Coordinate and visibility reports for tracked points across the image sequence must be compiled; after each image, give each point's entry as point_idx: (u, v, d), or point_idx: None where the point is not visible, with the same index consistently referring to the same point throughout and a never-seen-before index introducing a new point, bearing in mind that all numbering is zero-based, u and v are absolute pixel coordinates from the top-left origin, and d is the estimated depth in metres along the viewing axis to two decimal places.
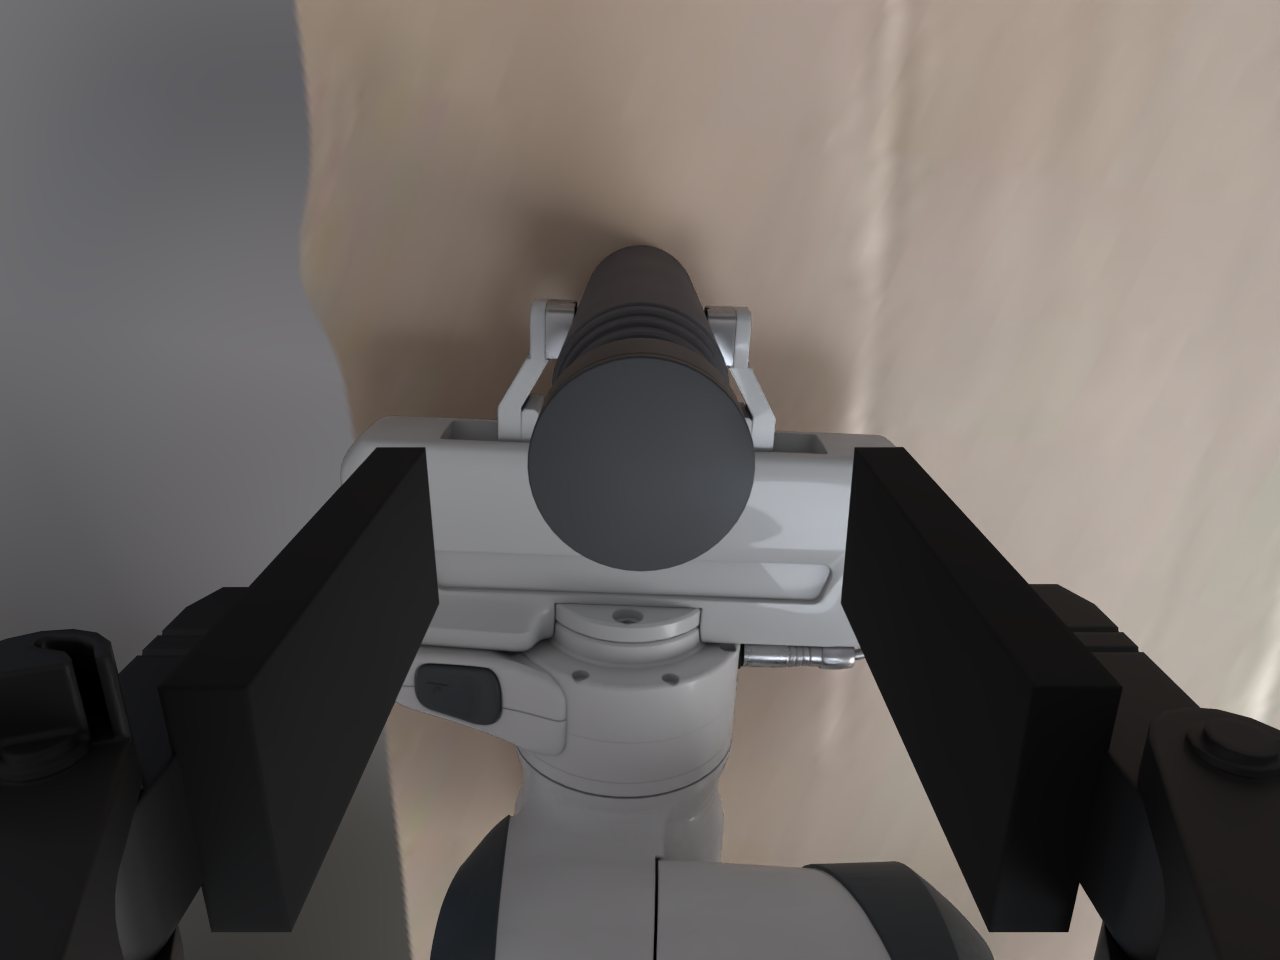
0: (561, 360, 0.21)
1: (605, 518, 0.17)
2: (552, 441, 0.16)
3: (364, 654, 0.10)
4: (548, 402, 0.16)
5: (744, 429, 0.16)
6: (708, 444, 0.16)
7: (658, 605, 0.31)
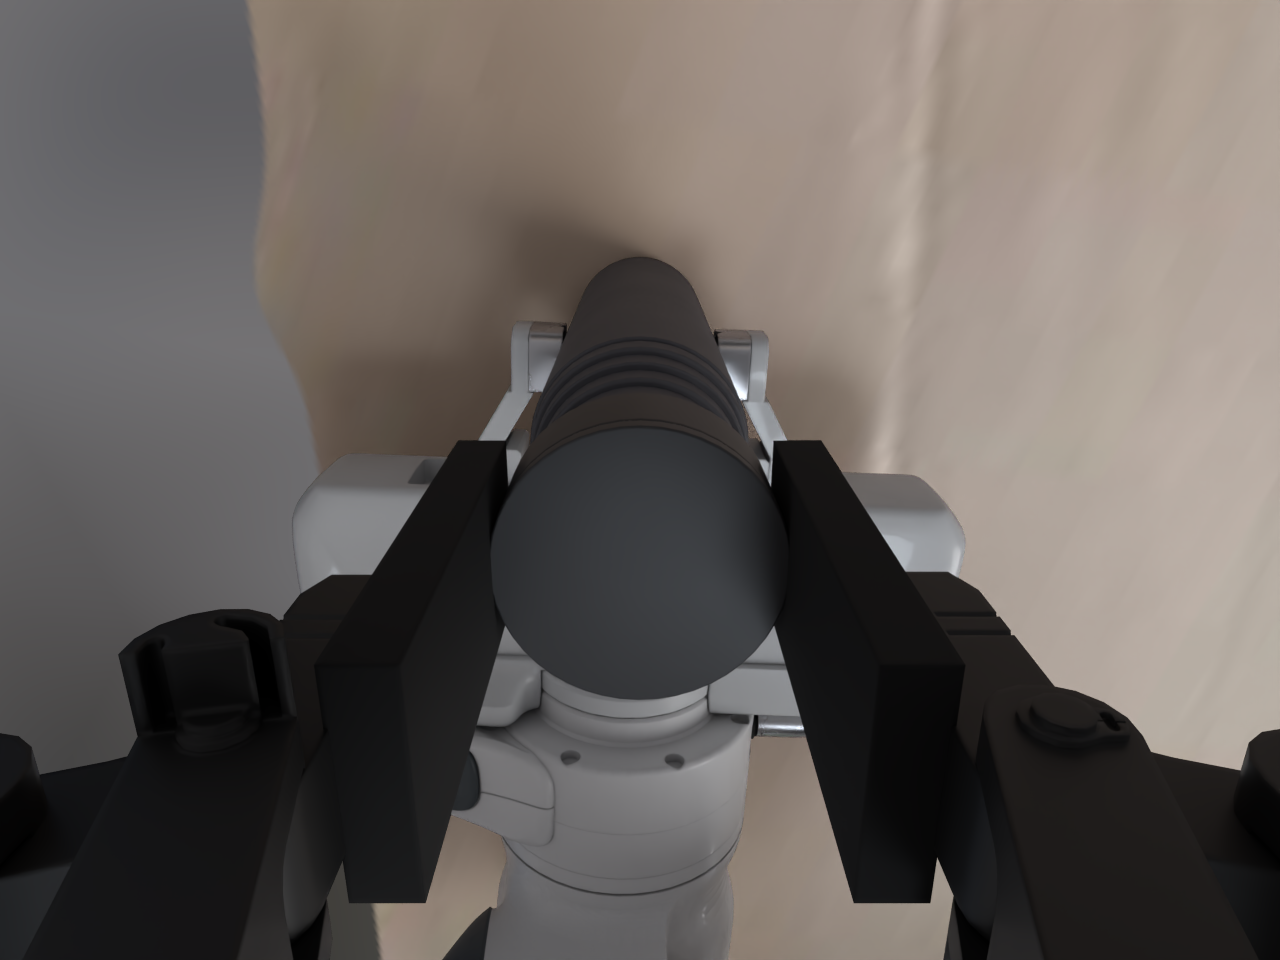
0: (541, 409, 0.17)
1: (592, 634, 0.13)
2: (521, 536, 0.12)
3: (469, 639, 0.11)
4: (515, 485, 0.12)
5: (777, 520, 0.12)
6: (729, 540, 0.12)
7: None
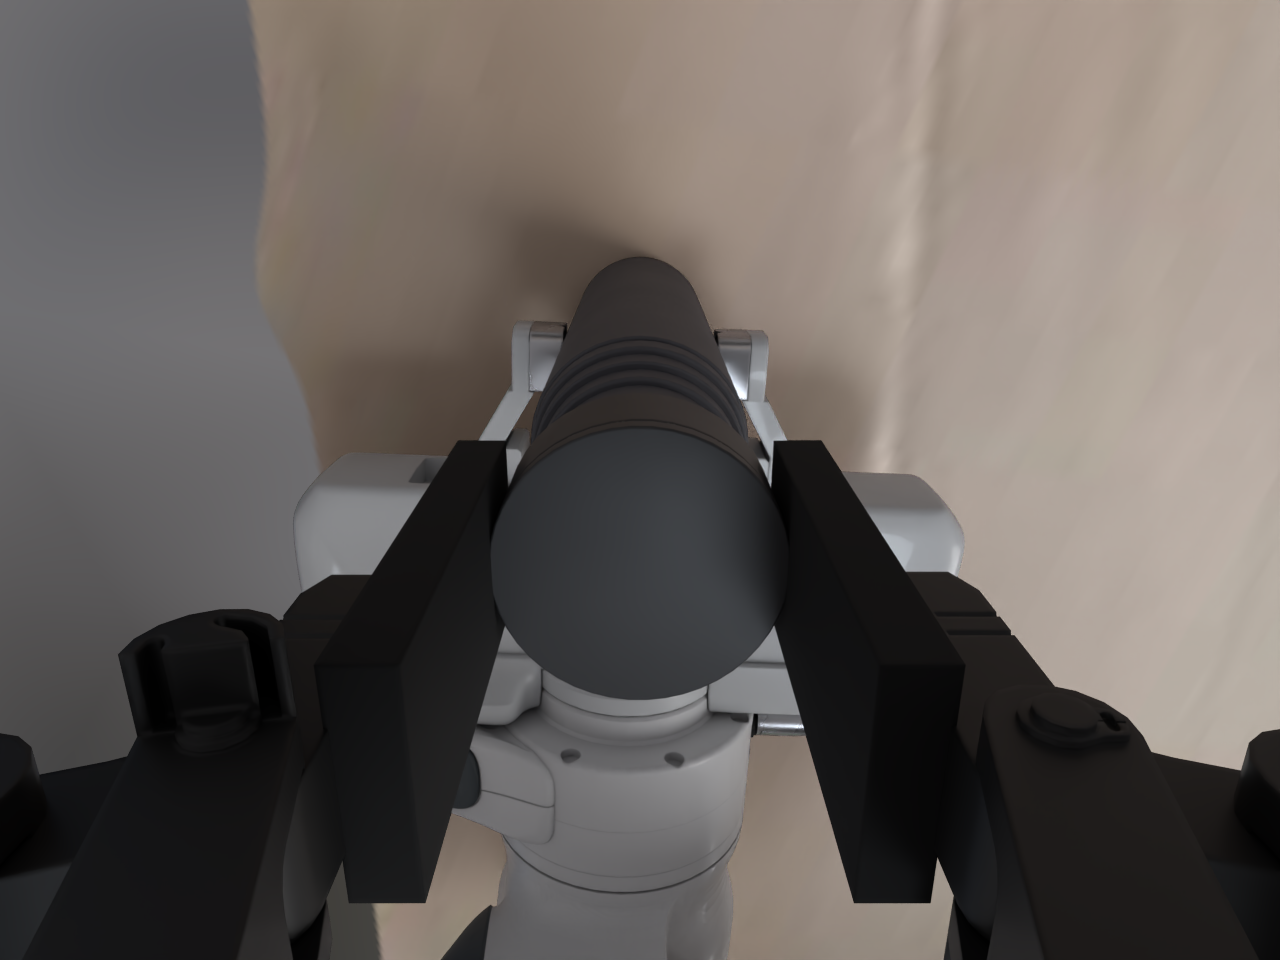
0: (541, 408, 0.17)
1: (698, 626, 0.13)
2: (580, 664, 0.13)
3: (468, 639, 0.11)
4: (531, 656, 0.13)
5: (613, 433, 0.12)
6: (623, 484, 0.12)
7: None
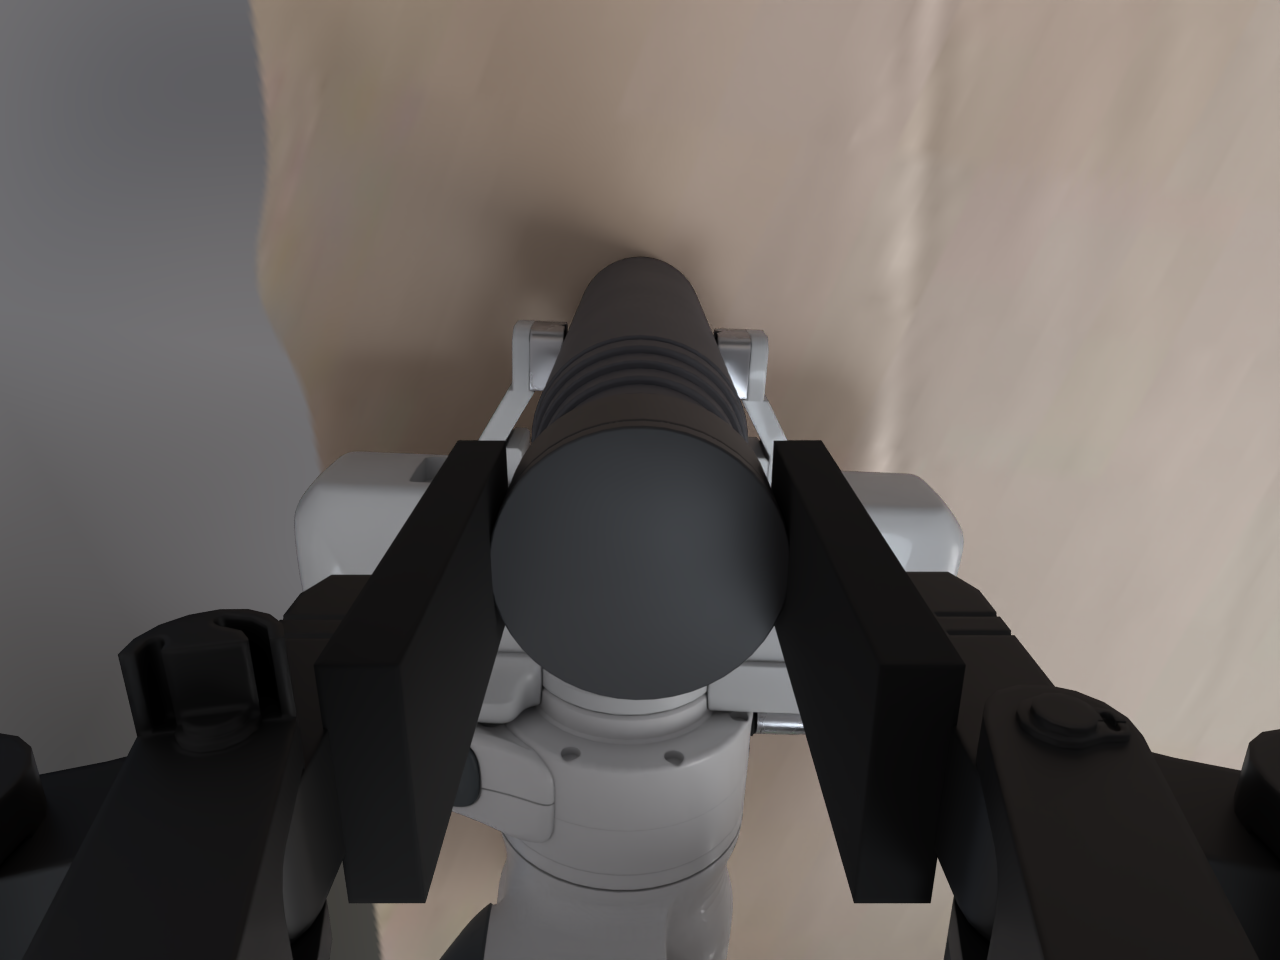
0: (542, 407, 0.17)
1: (714, 529, 0.12)
2: (728, 644, 0.13)
3: (468, 639, 0.11)
4: (710, 682, 0.13)
5: (494, 566, 0.12)
6: (545, 568, 0.12)
7: None
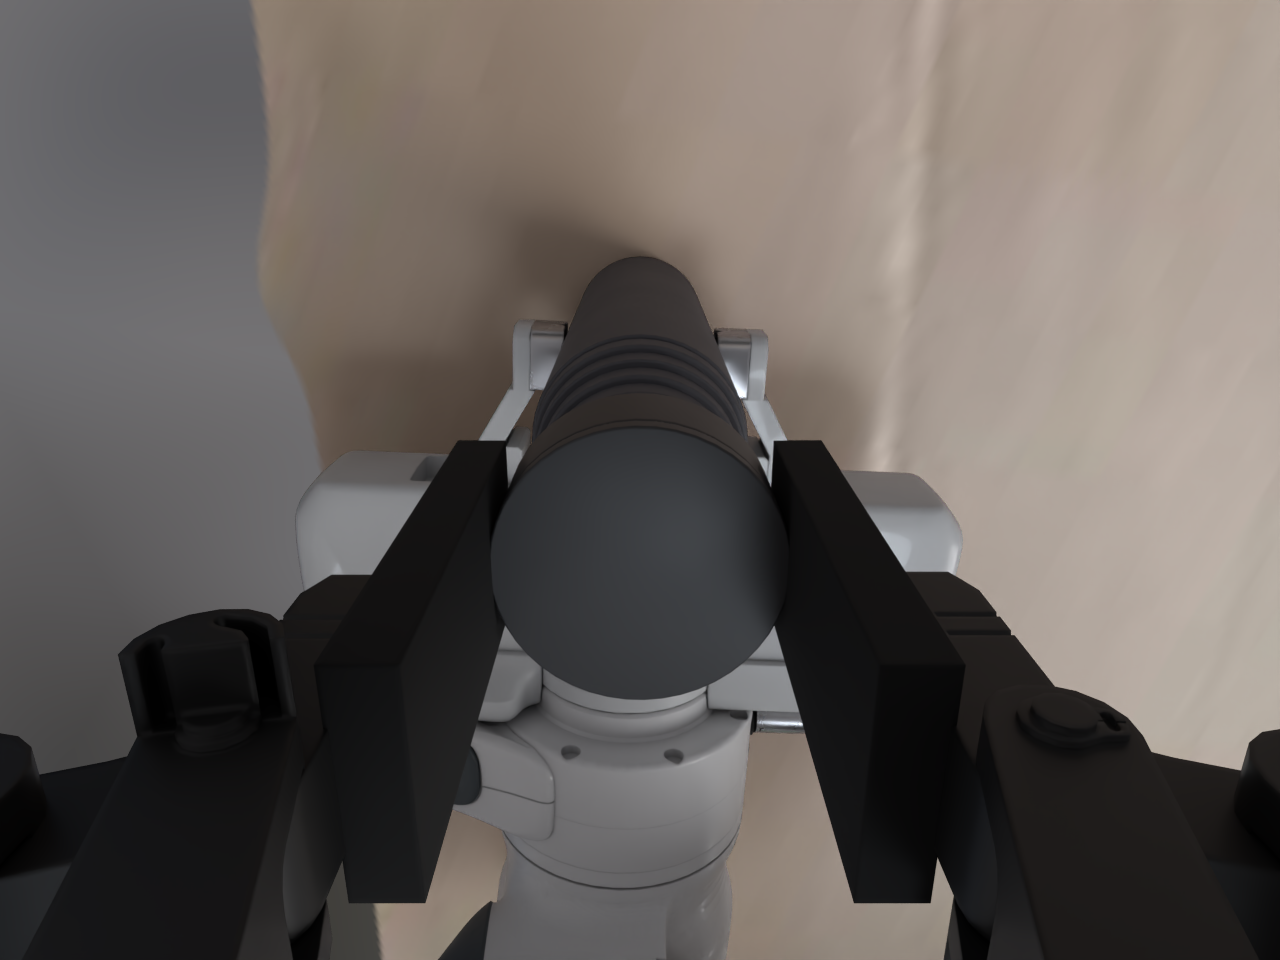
0: (542, 406, 0.17)
1: (609, 496, 0.12)
2: (742, 504, 0.12)
3: (468, 639, 0.11)
4: (785, 527, 0.12)
5: (607, 691, 0.13)
6: (617, 651, 0.13)
7: None
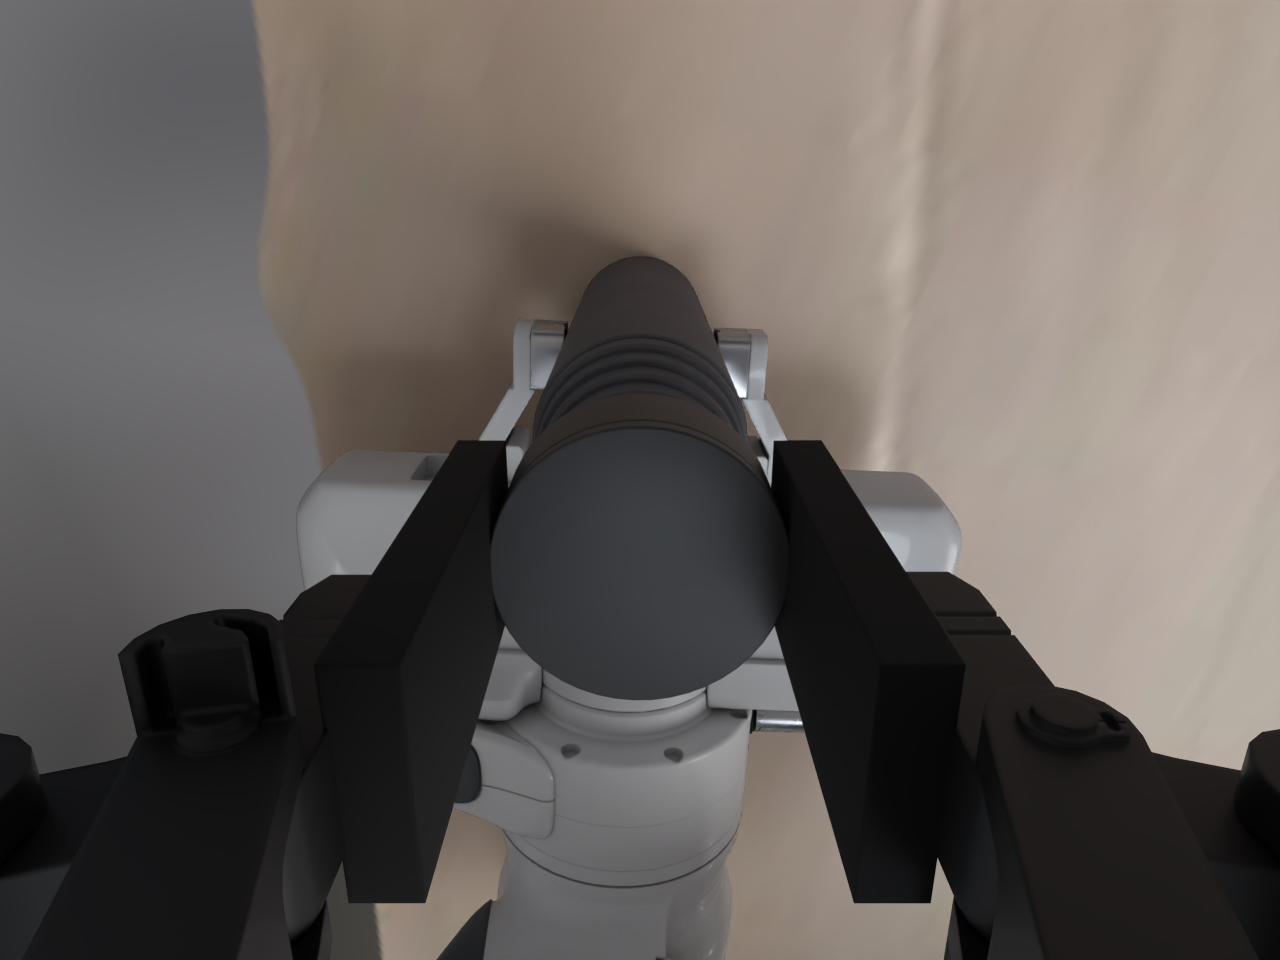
0: (543, 405, 0.17)
1: (554, 583, 0.12)
2: (586, 466, 0.12)
3: (469, 639, 0.11)
4: (623, 427, 0.12)
5: (767, 626, 0.13)
6: (723, 609, 0.13)
7: None
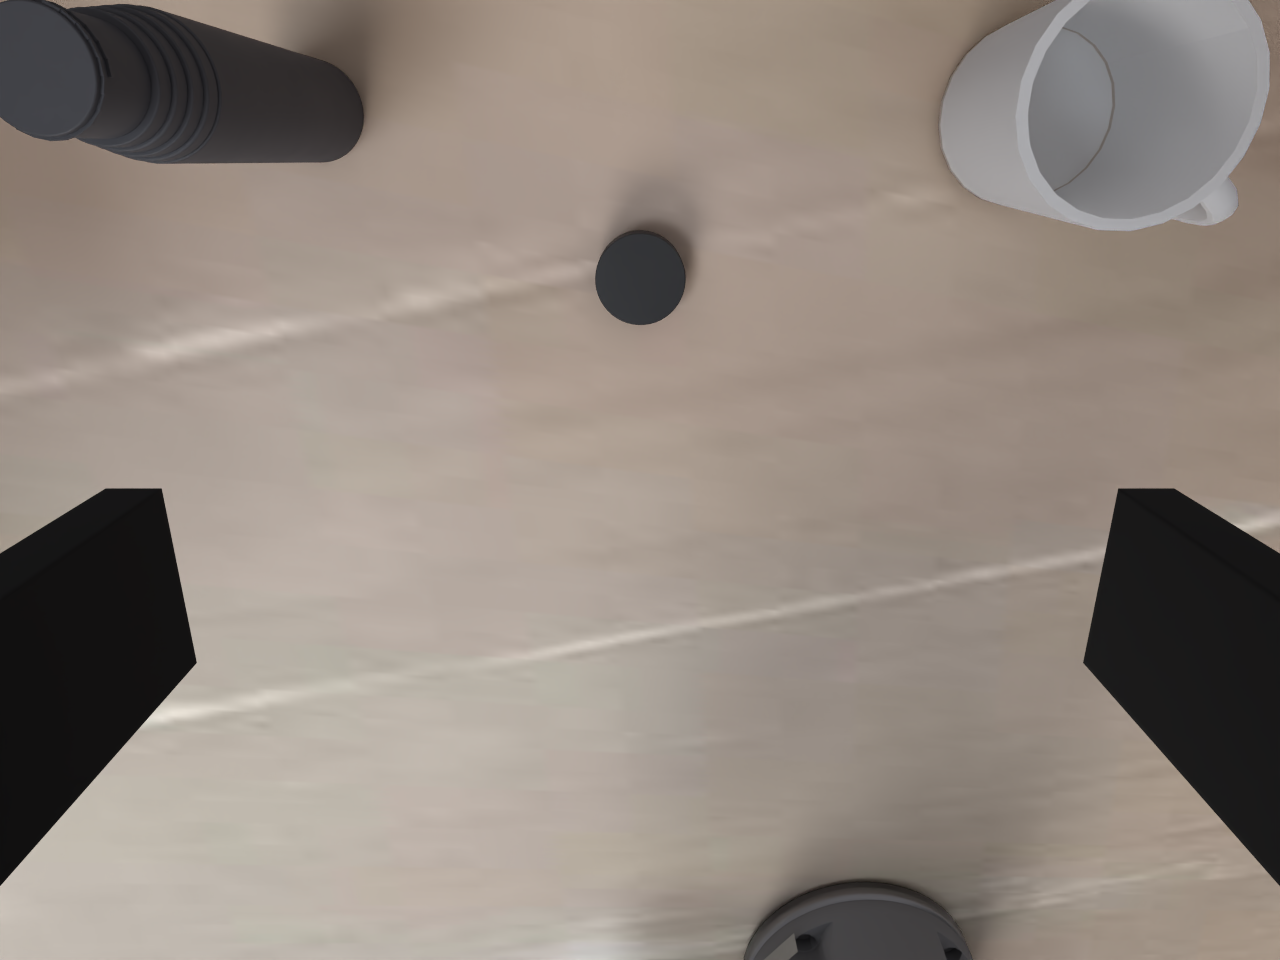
0: (141, 8, 0.26)
1: (615, 283, 0.42)
2: (625, 245, 0.41)
3: None
4: (635, 233, 0.41)
5: (679, 298, 0.42)
6: (665, 292, 0.42)
7: None
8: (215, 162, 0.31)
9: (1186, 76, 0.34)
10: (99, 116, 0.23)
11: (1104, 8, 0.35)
